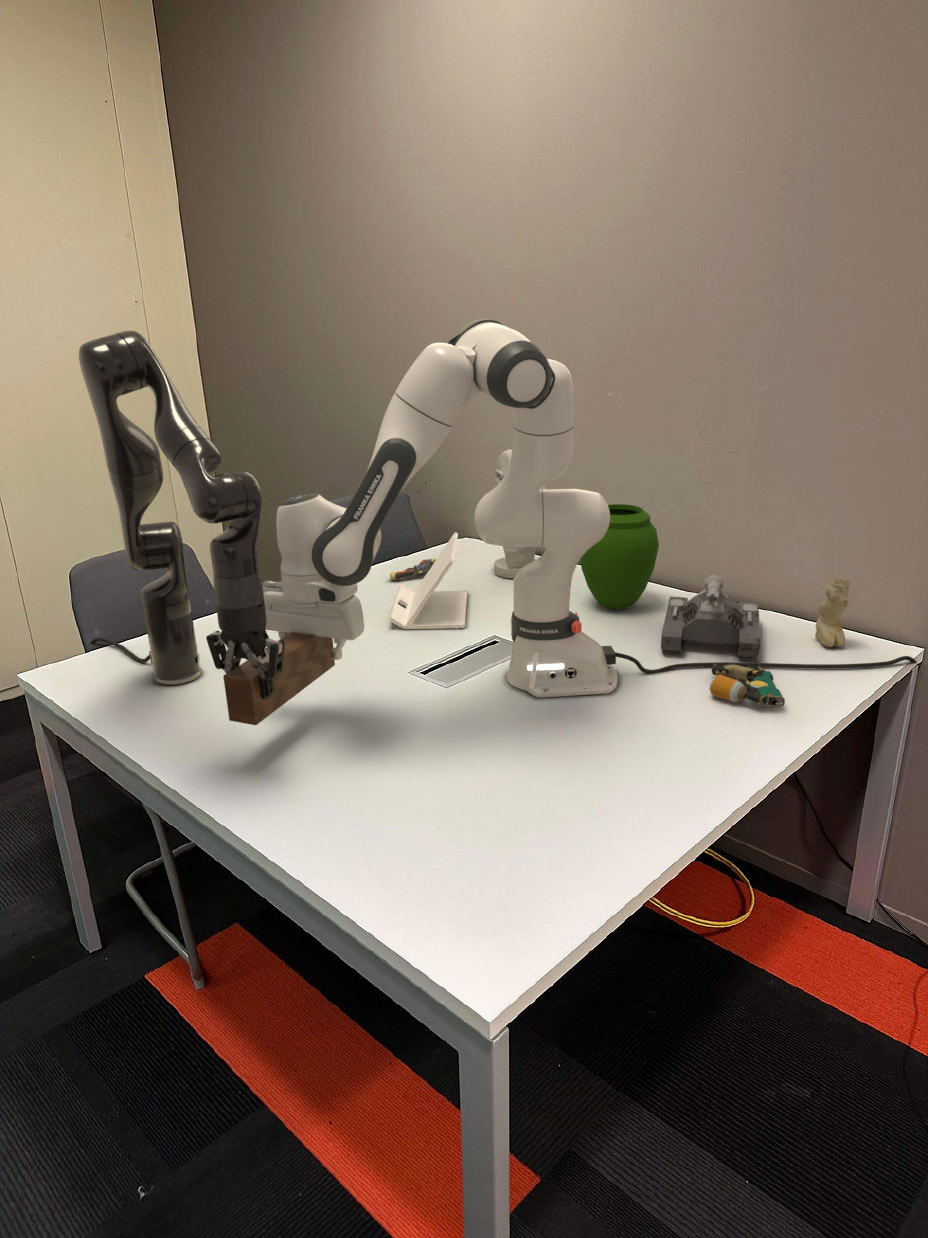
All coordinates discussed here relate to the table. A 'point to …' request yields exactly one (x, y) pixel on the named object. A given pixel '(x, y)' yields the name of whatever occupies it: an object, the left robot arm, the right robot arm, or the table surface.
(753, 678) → the spray gun
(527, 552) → the bust sculpture
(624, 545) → the vase
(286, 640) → the bar
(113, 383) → the left robot arm
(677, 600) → the toy
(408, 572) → the toy gun
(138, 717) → the table surface
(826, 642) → the sculpture
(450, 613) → the tablet stand
